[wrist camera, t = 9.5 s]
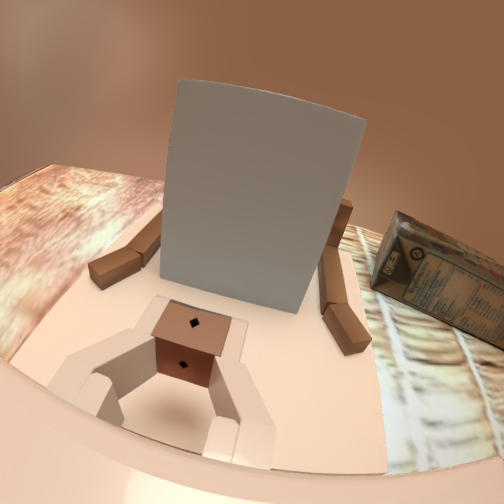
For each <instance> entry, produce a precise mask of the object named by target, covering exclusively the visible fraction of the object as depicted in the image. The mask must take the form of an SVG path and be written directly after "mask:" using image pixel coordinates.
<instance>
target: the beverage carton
mask: <svg viewBox="0 0 504 504" xmlns="http://www.w3.org/2000/svg"><path fill="white" fill-rule="evenodd" d="M371 288H372V289H374V290H377V291H379V292H381V293H383V294H386V295H388V296H390V297H392V298H394V299H397V300H399V301H401V302H403V303H405V304H407V305H409V306H411V307H413V308H415V309H417V310H419V311H422V312H424V313H426V314H429V315H431V316H433V317H435V318H437V319H439V320H442V321H444V322H446V323H448V324H450V325H452V326H455V327H457V328H459V329H462V330H464V331H466V332H469V333H471V334H473V335H475V336H477V337H479V338H482V339H484V340H486V341H488V342H490V343H492V344H494V345H496V346H498V347H500V348H502V349H504V265H502V264H500V263H498V262H496V261H495V260H493V259H492V258H489V257H488V256H485V255H484V254H482V253H480V252H478V251H477V250H475V249H473V248H471V247H469V246H467V245H465V244H463V243H461V242H459V241H457V240H455V239H454V238H452V237H450V236H448V235H446V234H444V233H442V232H440V231H438V230H436V229H434V228H432V227H430V226H428V225H426V224H423V223H421V222H419V221H418V220H416V219H414V218H412V217H410V216H408V215H406V214H404V213H402V212H399V211H395V213H394V215H393V218H392V220H391V223H390V225H389V228H388V230H387V232H386V234H385V235H384V238H383V240H382V242H381V245H380V248H379V250H378V253H377V255H376V263H375V268H374V273H373V278H372V281H371Z"/></svg>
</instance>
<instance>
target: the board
mask: <svg viewBox="0 0 504 504" xmlns="http://www.w3.org/2000/svg"><path fill="white" fill-rule="evenodd" d="M162 209H163V205H161V204H155V205H153V206H152V207H151V208H150V209H149V210H148V211H147V212H146V213H145V214H143V215H142V216H141V217H140V218H139V219H138V220H137V221H136V222H135V223H134V224H133V225H132V226H131V227H129V228H128V229H127V230H126V231H125V232H124V233H123V234H122V235H121V236H120V237H119V238H118V239H117V240H116V241H115V242H114V243H113V244H112V245H111V246H110V247H109V248H108V249H107V250H106V251H105V252H104V253H103V254H102V255H101V256H100V257H103V256H105V255H107V254H109V253H111V252H113V251H116V250H118V249H120V248H122V247H125V246H126V245H127V244H128V243H129V242H130V241H131V240H132V239H133V238H134V237H135V236H136V235H137V234H138V233H139V232H140V231H141V230H142V229H143V228H144V227H145V226H146V225H147V224H148V223H149V222H150V221H151V220H152V219H153V218H154V217H155V216H156V215H157V214H158V213H159V212H160V211H161V210H162ZM338 251H339V256H340V261H341V266H342V271H343V276H344V282H345V287H346V292H347V298H348V304H349V306H350V307H351V309H352V310H353V311H354V313H355V314H356V316H357V317H358V319H359V320H360V322H361V323H362V324H363V326H364V327H365V329H366V330H367V332H368V333H369V328H368V323H367V319H366V314H365V309H364V305H363V301H362V296H361V292H360V288H359V284H358V280H357V276H356V272H355V268H354V264H353V260H352V257H351V253H349V252H345V251H341V250H338ZM100 257H99V258H100ZM157 294H158V295H160V296H163V297H166V298H169V299H173V300H176V301H179V302H182V303H185V304H188V305H191V306H194V307H197V308H200V309H205V310H209V311H212V312H216V313H220V314H223V315H227V316H231V317H232V318H233V317H235V318H239V319H243V320H247V321H248V323H249V324H248V328H247V333H246V337H245V341H244V346H243V350H242V354H241V359H240V363H244V364H245V366H246V368H247V370H248V372H249V374H250V376H251V378H252V380H253V382H254V384H255V386H256V388H257V390H258V392H259V394H260V396H261V398H262V400H263V402H264V404H265V406H266V408H267V410H268V412H269V414H270V416H271V418H272V420H273V422H274V424H275V426H276V434H275V442H274V449H273V456H272V463H271V470H272V471H280V472H288V473H297V474H308V475H324V476H380V475H384V474H386V473H388V470H387V455H386V442H385V432H384V422H383V414H382V406H381V398H380V391H379V384H378V378H377V372H376V366H375V360H374V354H373V349H372V343H371V342H370V344H369V345H368V346H367V348H366V349H365V351H364V352H361V353H357V354H353V355H349V356H344V354H343V353H342V351H341V349H340V348H339V346H338V344H337V343H336V341H335V339H334V337H333V336H332V334H331V332H330V331H329V329H328V327H327V326H326V324H325V322H324V321H323V319H322V317H323V315H321V309H320V292H319V277H318V265H317V267H316V270H315V272H314V275H313V277H312V279H311V282H310V284H309V287H308V289H307V292H306V294H305V296H304V299H303V301H302V304H301V306H300V308H299V311H298V313H297V314H293V313H288V312H284V311H280V310H276V309H272V308H268V307H264V306H260V305H256V304H252V303H248V302H244V301H240V300H236V299H233V298H229V297H225V296H221V295H218V294H214V293H210V292H207V291H203V290H200V289H196V288H192V287H189V286H185V285H182V284H179V283H175V282H172V281H168V280H165V279H162V278H160V248H159V249H158V251H157V252H156V253H155V254H154V256H153V257H152V258H151V260H150V261H149V262H148V264H147V265H146V266H145V267H144V268H142V267H141V271H139V272H137V273H135V274H133V275H131V276H129V277H127V278H125V279H124V280H122V281H120V282H118V283H116V284H114V285H112V286H110V287H109V288H107V289H105V290H103V291H102V290H101V289H100V288H99V287H98V286H97V285H96V284H95V283H94V282H93V281H92V280H91V279H90V275H89V268H88V269H87V270H86V271H85V272H84V274H83V275H82V276H81V277H80V278H79V279H78V280H77V281H76V282H75V283H74V284H73V285H72V287H71V288H70V289H69V290H68V291H67V292H66V293H65V294H64V295H63V297H62V298H61V299H60V300H59V301H58V302H57V303H56V305H55V306H54V307H53V308H52V309H51V310H50V312H49V313H48V314H47V315H46V316H45V318H44V319H43V320H42V321H41V322H40V324H39V325H38V326H37V327H36V329H35V330H34V331H33V332H32V334H31V335H30V336H29V337H28V339H27V340H26V341H25V343H24V344H23V345H22V347H21V348H20V349H19V350H18V352H17V353H16V355H15V356H14V357H13V359H12V360H11V361H10V363H9V364H10V365H12V366H13V367H14V368H16V369H17V370H19V371H20V372H21V373H23V374H24V375H26V376H27V377H29V378H30V379H32V380H33V381H35V382H36V383H38V384H39V385H41V386H42V387H44V388H47V386H48V385H49V383H50V381H51V380H52V378H53V377H54V375H55V374H56V372H57V371H58V369H59V368H60V366H61V365H62V363H63V362H64V360H65V359H66V357H67V356H69V355H71V354H73V353H75V352H78V351H80V350H82V349H84V348H86V347H89V346H91V345H93V344H95V343H97V342H100V341H102V340H104V339H106V338H108V337H110V336H113V335H115V334H117V333H119V332H121V331H123V330H126V329H128V328H132V329H134V328H135V326H136V324H137V323H138V321H139V320H140V318H141V316H142V315H143V313H144V311H145V310H146V308H147V307H148V305H149V304H150V302H151V300H152V299H153V297H154V296H156V295H157ZM369 335H370V333H369ZM118 402H119V404H120V407H121V410H122V413H123V415H124V418H125V420H124V422H123V424H122V427H121V428H122V429H125V430H127V431H129V432H132V433H134V434H137V435H139V436H142V437H145V438H147V439H150V440H153V441H155V442H158V443H161V444H164V445H167V446H170V447H173V448H176V449H179V450H182V451H186V452H189V453H193V454H196V455H200V456H202V454H203V450H204V447H205V444H206V440H207V437H208V433H209V430H210V427H211V423H212V420H213V418H215V417H217V416H216V413H215V410H214V407H213V404H212V401H211V398H210V394H209V391H208V388H205V387H202V386H199V385H195V384H192V383H189V382H186V381H183V380H180V379H177V378H174V377H170V376H167V375H164V374H161V373H158V372H157V374H156V375H155V376H153V377H152V378H150V379H149V380H148V381H146V382H145V383H143V384H142V385H140V386H139V387H137V388H136V389H134V390H133V391H131V392H130V393H128V394H127V395H125V396H124V397H122V398H121V399H119V400H118Z"/></svg>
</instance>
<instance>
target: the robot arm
mask: <svg viewBox="0 0 504 504" xmlns="http://www.w3.org/2000/svg"><path fill="white" fill-rule="evenodd" d="M248 324H249V323H248V321H247V320H243V319H239V318H235V317H233V318H232V317H231V316H227V315H223V314H220V313H216V312H212V311H209V310H205V309H200V308H197V307H194V306H191V305H188V304H185V303H182V302H179V301H176V300H173V299H169V298H166V297H163V296H160V295H158V294H157V295H156V296H154V297H153V299H152V300H151V302H150V304H149V305H148V307H147V308H146V310H145V311H144V313H143V315H142V316H141V318H140V320H139V321H138V323H137V324H136V326H135V328H134V329H132V328H128V329H126V330H123V331H121V332H119V333H117V334H115V335H113V336H110V337H108V338H106V339H104V340H102V341H100V342H97V343H95V344H93V345H91V346H89V347H86V348H84V349H82V350H80V351H78V352H75V353H73V354H71V355H69V356H67V357H66V359H65V360H64V362H63V363H62V365H61V366H60V368H59V369H58V371H57V372H56V374H55V375H54V377H53V378H52V380H51V381H50V383H49V385H48V386H47V388H44V387H42V386H41V385H39V384H38V383H36V382H35V381H33V380H32V379H30V378H29V377H27V376H26V375H24V374H23V373H21V372H20V371H19V370H17V369H16V368H14V367H13V366H12V365H10V364H9V363H8V362H6V361H5V360H4V359H2V358H1V357H0V504H504V460H503V459H502V458H501V457H499V456H493V457H489V458H486V459H482V460H478V461H474V462H470V463H466V464H462V465H457V466H452V467H447V468H442V469H436V470H429V471H422V472H415V473H406V474H395V475H380V476H324V475H308V474H297V473H288V472H280V471H272V470H271V463H272V456H273V449H274V442H275V434H276V426H275V424H274V422H273V420H272V418H271V416H270V414H269V412H268V410H267V408H266V406H265V404H264V402H263V400H262V398H261V396H260V394H259V392H258V390H257V388H256V386H255V384H254V382H253V380H252V378H251V376H250V374H249V372H248V370H247V368H246V366H245V364H244V363H240V359H241V354H242V350H243V346H244V341H245V337H246V333H247V328H248ZM157 372H158V373H161V374H164V375H167V376H170V377H174V378H177V379H180V380H183V381H186V382H189V383H192V384H195V385H199V386H202V387H205V388H208V391H209V394H210V398H211V401H212V404H213V407H214V410H215V413H216V416H217V417H215V418H213V420H212V423H211V427H210V430H209V433H208V437H207V440H206V444H205V447H204V450H203V454H202V456H200V455H196V454H193V453H189V452H186V451H182V450H179V449H176V448H173V447H170V446H167V445H164V444H161V443H158V442H155V441H153V440H150V439H147V438H145V437H142V436H139V435H137V434H134V433H132V432H129V431H127V430H125V429H122V428H121V427H122V424H123V422H124V420H125V418H124V415H123V413H122V410H121V407H120V404H119V402H118V400H119V399H121V398H122V397H124V396H125V395H127V394H128V393H130V392H131V391H133V390H134V389H136V388H137V387H139V386H140V385H142V384H143V383H145V382H146V381H148V380H149V379H150V378H152V377H153V376H155V375H156V374H157Z"/></svg>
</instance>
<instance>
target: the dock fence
mask: <svg viewBox="0 0 504 504" xmlns="http://www.w3.org/2000/svg"><path fill="white" fill-rule="evenodd" d="M162 210H163V209H162ZM162 210H161V211H160V212H159V213H158V214H157V215H156V216H155V217H154V218H153V219H152V220H151V221H150V222H149V223H148V224H147V225H146V226H145V227H144V228H143V229H142V230H141V231H140V232H139V233H138V234H137V235H136V236H135V237H134V238H133V239H132V240H131V241H130V242H129V243H128V244H127V245H126V246H125V247H122V248H120V249H118V250H116V251H113V252H111V253H109V254H107V255H105V256H103V257H100V258H98V259H96V260H94V261H92V262H90V263H88V268H89V275H90V279H91V280H92V281H93V282H94V283H95V284H96V285H97V286H98V287H99V288H100V289H101V290H102V291H103V290H105V289H107V288H109V287H110V286H112V285H114V284H116V283H118V282H120V281H122V280H124V279H125V278H127V277H129V276H131V275H133V274H135V273H137V272H139V271H141V267H142V268H144V267H145V266H146V265H147V264H148V262H149V261H150V260H151V258H152V257H153V256H154V254H155V253H156V252H157V251H158V249H159V248H160V246H161V226H162ZM352 210H353V206H352V204H351V202H350V201H349V200H345V199H342V200H341V203H340V206H339V209H338V212H337V214H336V217H335V220H334V223H333V225H332V228H331V231H330V233H329V236H328V239H327V241H326V244H325V247H324V249H323V252H322V254H321V257H320V259H319V262H318V277H319V292H320V309H321V315H323V317H322V319H323V321H324V322H325V324H326V326H327V327H328V329H329V331H330V332H331V334H332V336H333V337H334V339H335V341H336V343H337V344H338V346H339V348H340V349H341V351H342V353H343V354H344V356H349V355H353V354H357V353H361V352H364V351H365V349H366V348H367V346H368V345H369V344H370V342H371V341H372V338H371V336H370V335H369V333H368V332H367V330H366V329H365V327H364V326H363V324H362V323H361V322H360V320H359V319H358V317H357V316H356V314H355V313H354V311H353V310H352V309H351V307H350V306H349V304H348V298H347V292H346V287H345V282H344V276H343V271H342V266H341V261H340V256H339V251H338V246H339V243H340V241H341V238H342V236H343V233H344V231H345V228H346V225H347V223H348V220H349V218H350V215H351V212H352Z"/></svg>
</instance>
